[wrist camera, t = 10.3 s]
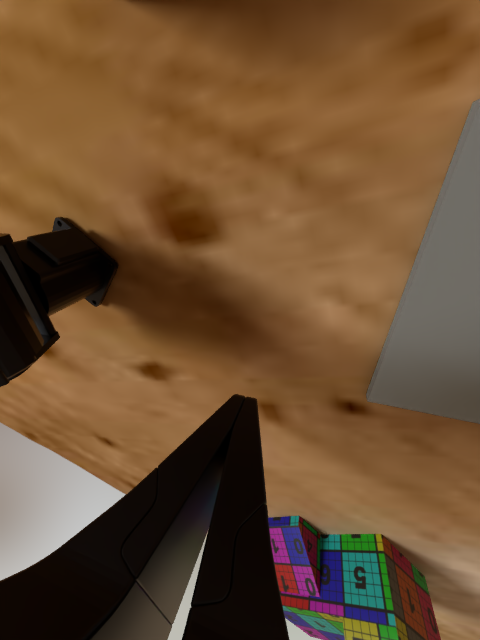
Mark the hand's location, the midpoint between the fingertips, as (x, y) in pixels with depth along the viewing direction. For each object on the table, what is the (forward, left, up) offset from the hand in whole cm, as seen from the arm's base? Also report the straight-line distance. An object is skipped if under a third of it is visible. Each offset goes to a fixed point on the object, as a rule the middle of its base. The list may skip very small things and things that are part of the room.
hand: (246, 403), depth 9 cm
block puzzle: (-30, -36, -12) cm, 48 cm away
